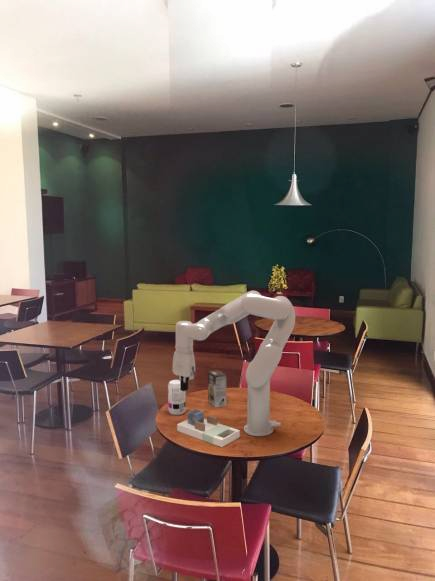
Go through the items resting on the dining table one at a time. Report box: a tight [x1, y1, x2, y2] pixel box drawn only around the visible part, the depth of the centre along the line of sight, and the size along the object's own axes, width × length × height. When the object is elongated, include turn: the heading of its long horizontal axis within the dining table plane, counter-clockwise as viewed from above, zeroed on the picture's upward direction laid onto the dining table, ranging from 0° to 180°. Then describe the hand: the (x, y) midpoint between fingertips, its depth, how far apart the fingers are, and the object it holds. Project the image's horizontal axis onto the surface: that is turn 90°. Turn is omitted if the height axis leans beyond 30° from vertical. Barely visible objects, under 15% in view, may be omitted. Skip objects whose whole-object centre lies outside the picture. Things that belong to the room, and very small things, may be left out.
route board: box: [176, 414, 241, 448], centre depth 200 cm, size 25×12×6 cm, turn 50°
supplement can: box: [167, 379, 187, 416], centre depth 224 cm, size 8×8×15 cm
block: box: [187, 408, 205, 426], centre depth 204 cm, size 5×5×5 cm
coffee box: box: [207, 369, 227, 408], centre depth 234 cm, size 9×6×16 cm
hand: (184, 390), depth 206 cm, fingers closed
